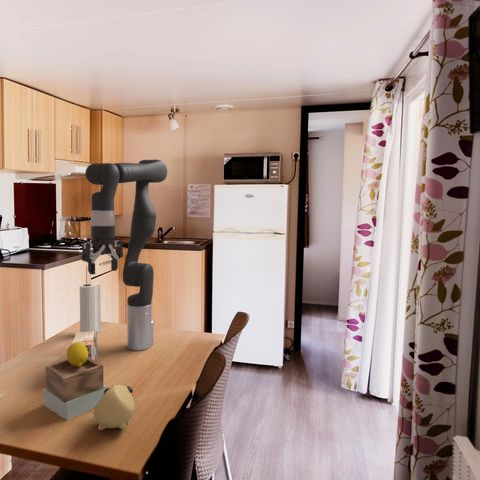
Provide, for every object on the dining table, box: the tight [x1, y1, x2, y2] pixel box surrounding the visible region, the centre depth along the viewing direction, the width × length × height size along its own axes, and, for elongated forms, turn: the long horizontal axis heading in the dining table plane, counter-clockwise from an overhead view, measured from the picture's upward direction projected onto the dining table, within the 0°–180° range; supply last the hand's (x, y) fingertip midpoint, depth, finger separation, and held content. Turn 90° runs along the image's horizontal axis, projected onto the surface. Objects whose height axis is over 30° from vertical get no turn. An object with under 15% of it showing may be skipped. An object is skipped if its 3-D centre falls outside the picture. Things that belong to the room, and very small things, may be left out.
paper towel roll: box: [79, 283, 102, 334], centre depth 160 cm, size 7×6×21 cm
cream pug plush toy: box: [92, 384, 136, 431], centre depth 97 cm, size 10×12×11 cm
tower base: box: [42, 383, 108, 421], centre depth 106 cm, size 12×12×5 cm
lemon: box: [66, 342, 88, 367], centre depth 108 cm, size 6×6×8 cm
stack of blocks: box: [70, 331, 99, 362], centre depth 129 cm, size 21×6×12 cm, turn 16°
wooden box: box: [45, 357, 104, 403], centre depth 105 cm, size 11×11×6 cm
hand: (103, 272), depth 127 cm, fingers open, 8 cm apart
